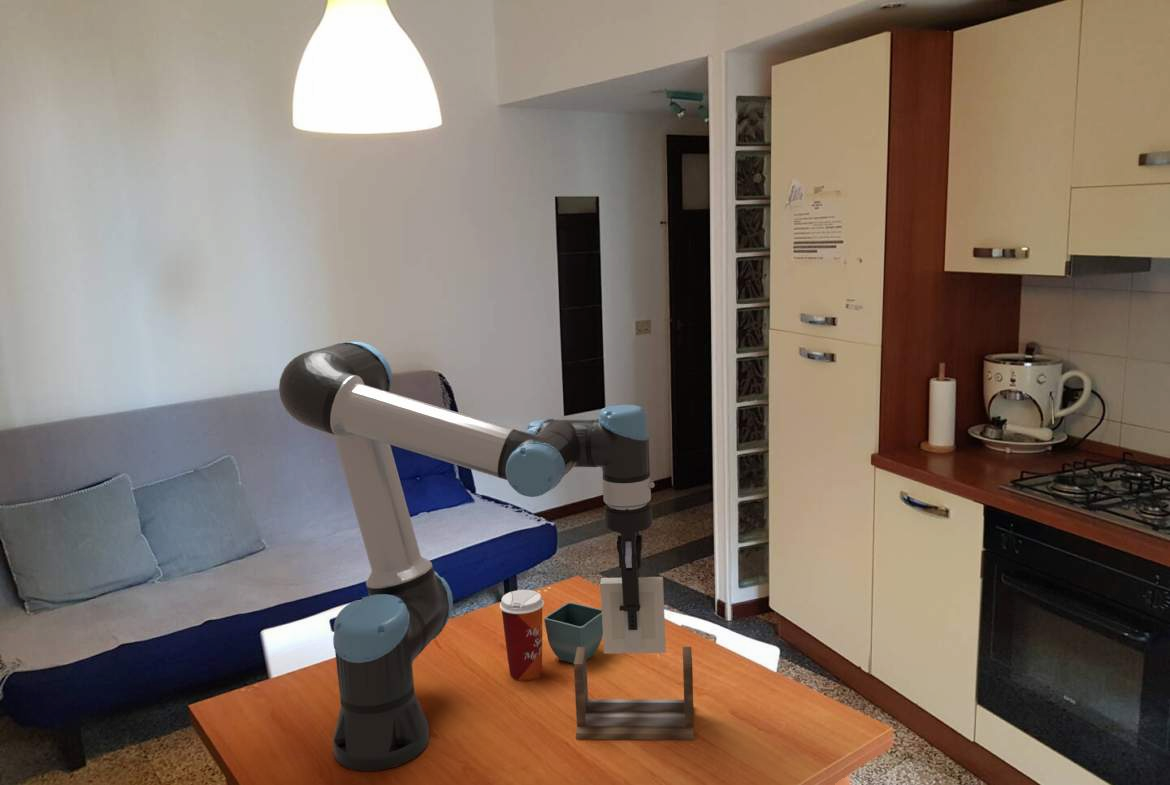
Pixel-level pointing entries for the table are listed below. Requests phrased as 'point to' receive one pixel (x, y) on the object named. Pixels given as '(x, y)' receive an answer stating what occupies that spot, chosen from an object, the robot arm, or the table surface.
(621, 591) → the door panel
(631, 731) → the track
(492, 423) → the robot arm
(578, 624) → the flower pot
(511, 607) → the coffee cup
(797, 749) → the table surface
